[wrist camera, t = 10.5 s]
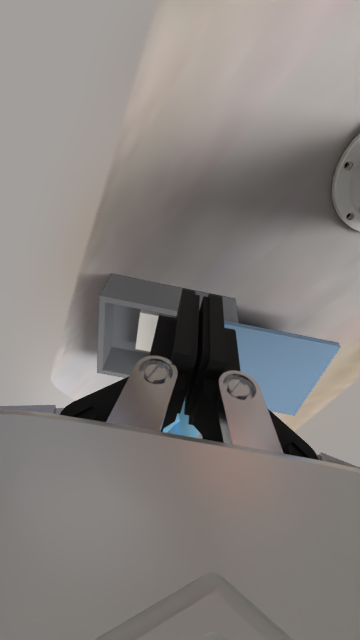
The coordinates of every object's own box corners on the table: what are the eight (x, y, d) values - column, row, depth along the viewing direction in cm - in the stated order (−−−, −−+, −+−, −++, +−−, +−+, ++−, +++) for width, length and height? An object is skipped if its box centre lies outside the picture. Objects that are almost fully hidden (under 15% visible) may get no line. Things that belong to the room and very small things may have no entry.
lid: (338, 342, 39) (348, 360, 36) (293, 411, 47) (298, 429, 44) (201, 315, 38) (201, 332, 35) (180, 390, 46) (179, 408, 44)
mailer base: (235, 298, 43) (238, 323, 38) (211, 366, 51) (212, 393, 47) (111, 273, 42) (99, 295, 38) (107, 347, 51) (97, 372, 46)
